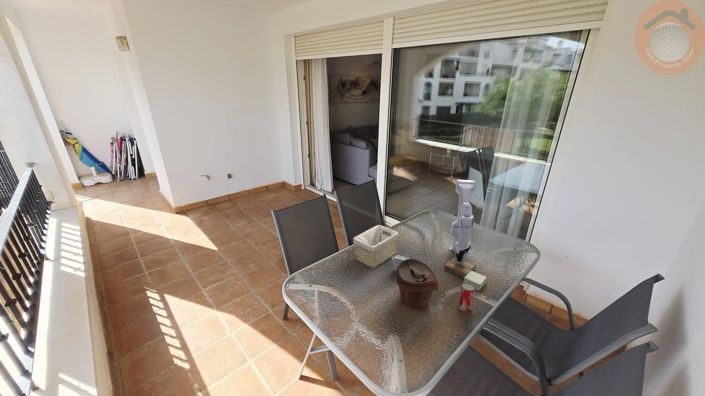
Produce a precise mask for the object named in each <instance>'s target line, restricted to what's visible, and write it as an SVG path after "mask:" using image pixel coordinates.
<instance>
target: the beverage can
mask: <svg viewBox="0 0 705 396" xmlns="http://www.w3.org/2000/svg"><path fill="white" fill-rule="evenodd" d="M475 295H476V289H474V286H473V285H472V284H470V283H464V282H463V283H462V284H461V285H460V287H459V293H458V299H457V300H458V301H457V307H458V309H459V310H460V311H463V312H466V313H470V312H472V310H473V307H474V300H475V297H476V296H475Z"/></svg>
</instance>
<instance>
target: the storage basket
mask: <svg viewBox="0 0 705 396" xmlns="http://www.w3.org/2000/svg"><path fill="white" fill-rule="evenodd" d="M384 232H385V233H387V234H390V236H389V235H385V234H384ZM352 240H353V247H354V253H355V259H356V260H357V261H358V262H360V263H362V264H364V265H367V266H368V267H370V268H373V269H375V268H376V267H378V266H379V265H380V264H382V263H384V262H385V261H386V260H387V261H388V259H390V258H391V257H393V256H394V255H396V253H397V250H398V249H397V247H398V240H399V232H398V231H396V230H394V229H391V228H389V227H386V226H383V225H381V224H377V225H375V226H373V227H371V228H369V229H368V230H366V231H363V232H361V233H360V234H358V235H355V236H354V237H353V238H352Z"/></svg>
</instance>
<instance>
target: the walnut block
mask: <svg viewBox="0 0 705 396" xmlns="http://www.w3.org/2000/svg"><path fill="white" fill-rule="evenodd" d="M454 260H455V256H453V257H452V258H451V259H450V260H448V262H446V263H445V264H444V270H445V271H449V272H451V273H454V274H455V275H456V276H457V275H458V276H460V277H462V278H464V277H465V276H466V275H467V274H468V273H469V272H470V271H473V272H474V270H475V269H476V266H477V264H476V263H474V262H471V261H468V260H466V262H465V263H464V264H463V265H461V264H459V263H456V262H454Z"/></svg>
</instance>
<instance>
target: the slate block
mask: <svg viewBox="0 0 705 396" xmlns="http://www.w3.org/2000/svg"><path fill="white" fill-rule="evenodd" d="M463 252H466V251H463ZM467 256H468V253H467V252H466V253H465V254H464V255H463V258H462V261H461V262H459V261H457V258H456V254H455V253H454V257H455V260H454V262H456V263H459V264H461V265H463V264H464V263H465V262H466V261H467Z"/></svg>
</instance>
